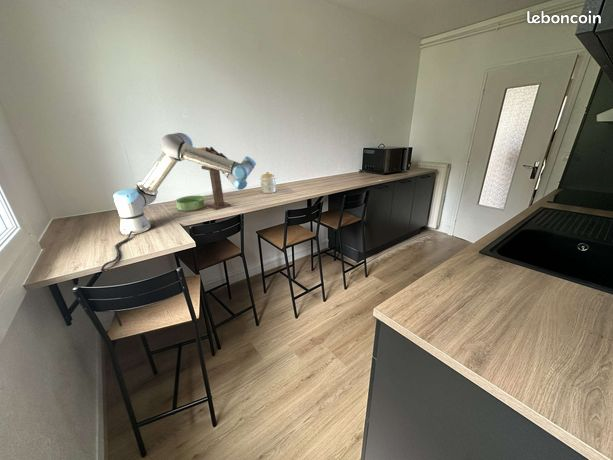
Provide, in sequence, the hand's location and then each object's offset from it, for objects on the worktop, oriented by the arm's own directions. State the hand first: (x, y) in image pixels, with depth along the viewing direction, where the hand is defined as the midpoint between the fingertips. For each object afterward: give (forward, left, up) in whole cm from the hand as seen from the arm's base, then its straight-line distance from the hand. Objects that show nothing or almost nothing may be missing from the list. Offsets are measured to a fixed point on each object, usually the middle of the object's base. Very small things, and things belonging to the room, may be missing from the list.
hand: (208, 148), depth 164 cm
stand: (+8, -3, -42) cm, 43 cm away
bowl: (+17, +16, -42) cm, 48 cm away
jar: (+28, -50, -43) cm, 72 cm away
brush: (+2, +1, -4) cm, 4 cm away
